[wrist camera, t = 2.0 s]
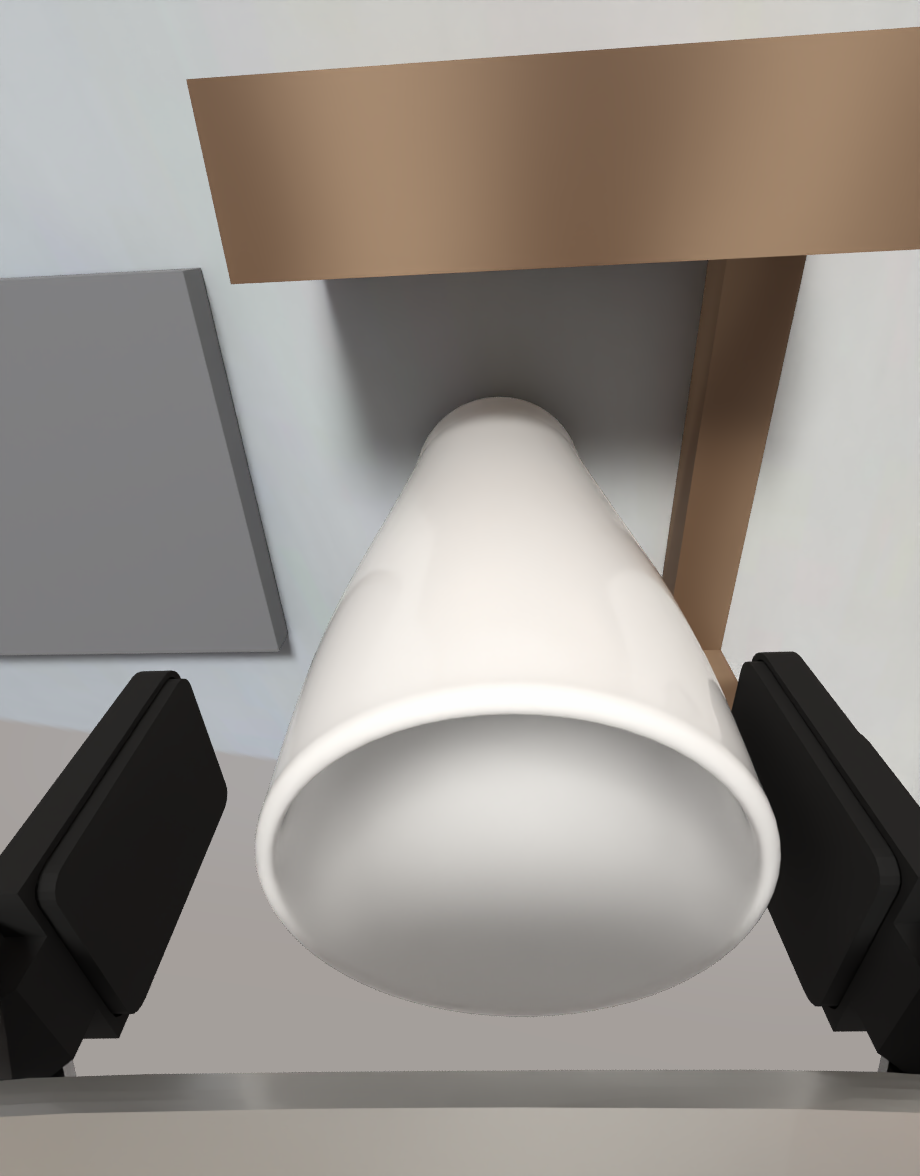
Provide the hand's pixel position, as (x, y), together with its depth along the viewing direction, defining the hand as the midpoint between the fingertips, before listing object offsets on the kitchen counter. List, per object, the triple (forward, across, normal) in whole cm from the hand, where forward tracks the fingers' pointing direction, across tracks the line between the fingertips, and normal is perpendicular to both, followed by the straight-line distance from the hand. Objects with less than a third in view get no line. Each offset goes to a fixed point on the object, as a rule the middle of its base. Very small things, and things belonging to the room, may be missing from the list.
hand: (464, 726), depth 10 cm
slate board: (+12, +14, 0) cm, 19 cm away
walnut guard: (+12, -3, 0) cm, 12 cm away
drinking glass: (+12, -1, 0) cm, 12 cm away
